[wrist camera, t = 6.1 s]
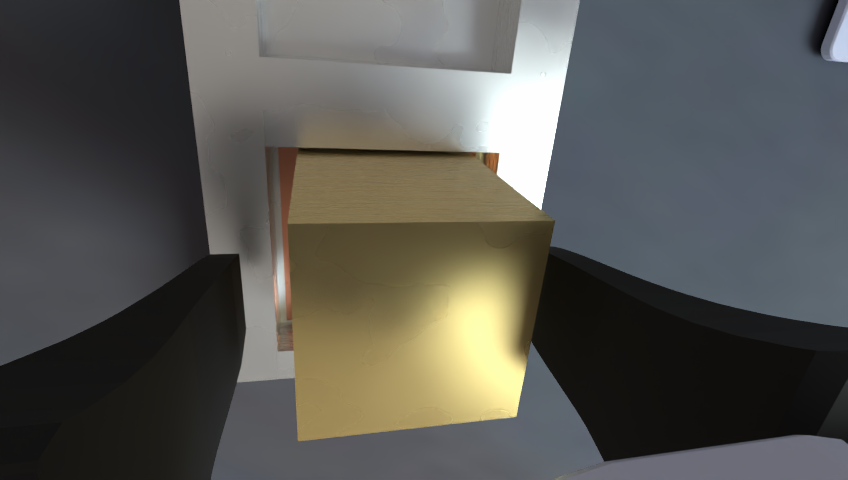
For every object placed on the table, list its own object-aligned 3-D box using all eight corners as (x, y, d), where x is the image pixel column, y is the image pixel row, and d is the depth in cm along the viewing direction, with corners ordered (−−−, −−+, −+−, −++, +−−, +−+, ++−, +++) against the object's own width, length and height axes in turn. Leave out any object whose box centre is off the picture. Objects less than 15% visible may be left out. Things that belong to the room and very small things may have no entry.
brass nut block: (459, 144, 13) (554, 220, 8) (445, 281, 15) (516, 416, 10) (298, 140, 12) (287, 223, 7) (303, 286, 14) (298, 441, 9)
